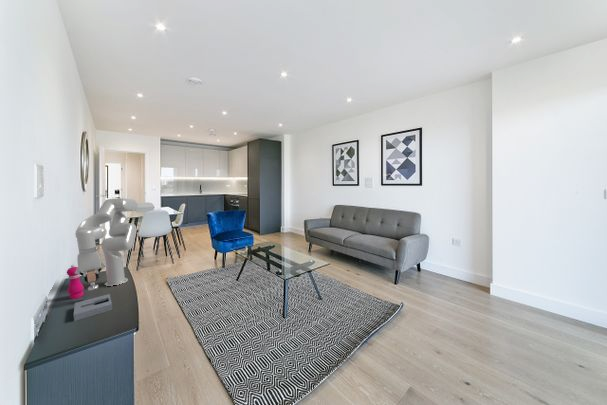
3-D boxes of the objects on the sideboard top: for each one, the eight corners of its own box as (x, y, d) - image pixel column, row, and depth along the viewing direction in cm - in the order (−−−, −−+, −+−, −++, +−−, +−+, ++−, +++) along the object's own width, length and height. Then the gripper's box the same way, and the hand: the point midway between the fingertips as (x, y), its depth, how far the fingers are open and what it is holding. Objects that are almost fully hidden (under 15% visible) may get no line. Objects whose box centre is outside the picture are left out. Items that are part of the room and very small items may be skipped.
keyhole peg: (87, 288, 145) (85, 270, 143) (98, 285, 148) (95, 268, 147) (87, 291, 141) (85, 273, 140) (98, 288, 144) (96, 270, 143)
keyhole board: (75, 308, 135) (74, 302, 134) (110, 299, 144) (109, 293, 144) (74, 321, 122) (73, 314, 122) (112, 309, 132) (111, 304, 131)
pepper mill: (66, 300, 145) (62, 267, 143) (71, 295, 151) (67, 264, 149) (82, 297, 148) (78, 265, 146) (86, 292, 154) (82, 261, 153)
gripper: (105, 246, 150) (109, 275, 152) (68, 252, 139) (73, 283, 141) (106, 248, 144) (110, 278, 147) (67, 256, 133) (72, 288, 136)
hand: (92, 280), depth 144 cm, fingers closed on keyhole peg, 3 cm apart
